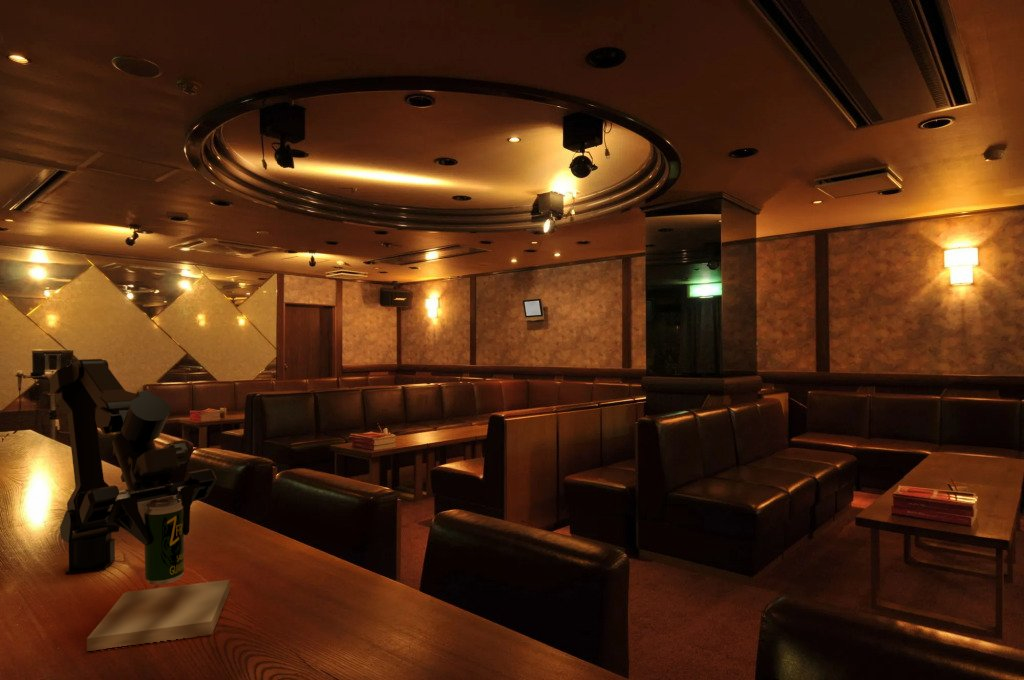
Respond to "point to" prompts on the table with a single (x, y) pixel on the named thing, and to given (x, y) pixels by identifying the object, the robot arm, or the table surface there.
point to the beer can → (164, 541)
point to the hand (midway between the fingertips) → (168, 538)
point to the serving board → (161, 615)
